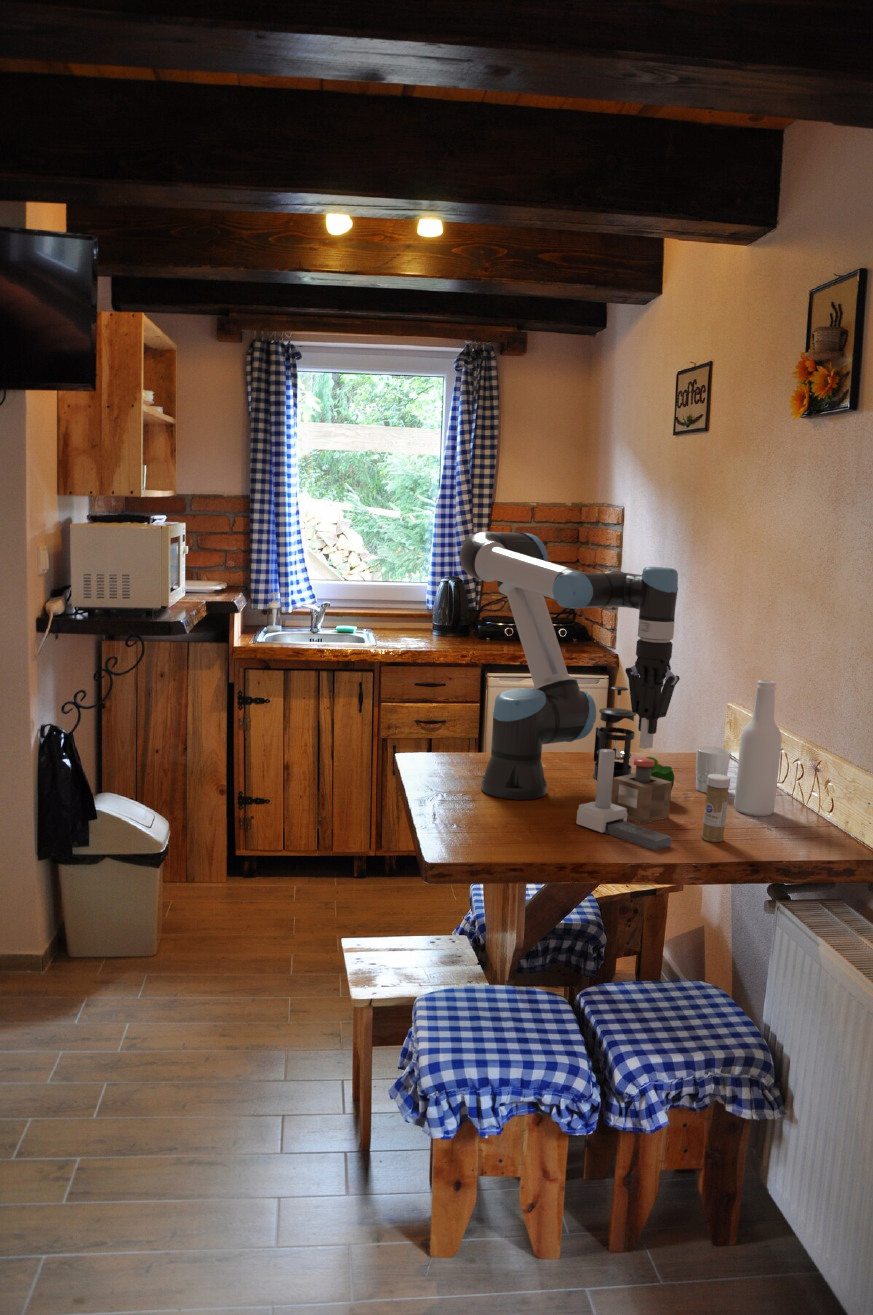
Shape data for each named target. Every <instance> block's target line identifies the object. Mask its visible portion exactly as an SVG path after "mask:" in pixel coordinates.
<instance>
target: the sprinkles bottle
mask: <svg viewBox="0 0 873 1315" xmlns="http://www.w3.org/2000/svg"><path fill="white" fill-rule="evenodd" d="M730 784H731V777H730V776H728V775H727V776H725V775H721V774H710V775H708V777H707V793H705V794H706V795H705V796H706V797H705V804H704V810H703V820H702V821H703V823H702V831H701V832H702V833H701V838H702V839H703V840H704V841H706V842H707V841H708V842H710V843H720V842H723V841H724V839H725V837H724V834H725V826H726V820H727V819H726V818H727V811H728V810H727V809H728V797H729V796H728V795H729V789H730V786H731V785H730Z"/></svg>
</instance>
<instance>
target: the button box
mask: <svg viewBox="0 0 873 1315" xmlns="http://www.w3.org/2000/svg"><path fill="white" fill-rule="evenodd" d="M635 775H636V772H634V773H631V774H629V775H624V776H620V777H615V778H613V784H612V796H611V803H612V804H615V805H618V806H621V807H624V808H627V810H626V812H627V820H629V819H630V820H629V821H632V822H635V821H637V822H636V823H638V822H640V823H639V824H641V823H642V824H641V825H645V824H649V823H651V822H650V821H653V822H656V820H657V821H659V819H661V820H663V819H662V818H664V819H667V818H669V817H670V809H671V796H672V791H671V788H672V789H673V787H672V782H670V781H667V780H663V779H660V778H657V777H653V776H650V783H646V784H643V783H640V782H636V781H635ZM648 822H649V823H648Z"/></svg>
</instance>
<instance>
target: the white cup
mask: <svg viewBox="0 0 873 1315" xmlns="http://www.w3.org/2000/svg"><path fill="white" fill-rule="evenodd" d="M731 753H732V752H731V751H730V750H729V749H726V748H724V747H718V746H710V745H709V746H708V745H707V746H706V745H703V746H698V747H697V748H696V760H695V778H696V779H695V790H696V791H698V792H701V793H705V794H707V777H708V775H710V774H721V775H725V776H728V770H729V766H730V759H731Z"/></svg>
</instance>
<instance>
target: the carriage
mask: <svg viewBox="0 0 873 1315" xmlns="http://www.w3.org/2000/svg"><path fill="white" fill-rule="evenodd" d="M610 749H611V748H605V749H601V750H600V752H599V764H598V777H597V780H596V789H595V790H596V791H595V801H590V802H585V803H581V804H579V805H578V809H577V812H576V824H577V825H580V826H583V827H585V828H588V829H590V830H593V831H596V832H599V833H601V834H602V833H604V832H605V828H606V822H610V821H614V820H618V819H620V820H623V821H626V822H628V819H627V812H626V810H627V808H624V807H621V806H618V805H615V804H612V803H611V798H612V786H613V772H614V761H616V760H615V751H614V750H610Z"/></svg>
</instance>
